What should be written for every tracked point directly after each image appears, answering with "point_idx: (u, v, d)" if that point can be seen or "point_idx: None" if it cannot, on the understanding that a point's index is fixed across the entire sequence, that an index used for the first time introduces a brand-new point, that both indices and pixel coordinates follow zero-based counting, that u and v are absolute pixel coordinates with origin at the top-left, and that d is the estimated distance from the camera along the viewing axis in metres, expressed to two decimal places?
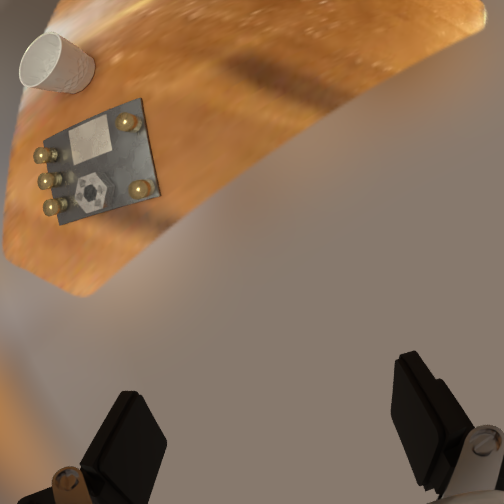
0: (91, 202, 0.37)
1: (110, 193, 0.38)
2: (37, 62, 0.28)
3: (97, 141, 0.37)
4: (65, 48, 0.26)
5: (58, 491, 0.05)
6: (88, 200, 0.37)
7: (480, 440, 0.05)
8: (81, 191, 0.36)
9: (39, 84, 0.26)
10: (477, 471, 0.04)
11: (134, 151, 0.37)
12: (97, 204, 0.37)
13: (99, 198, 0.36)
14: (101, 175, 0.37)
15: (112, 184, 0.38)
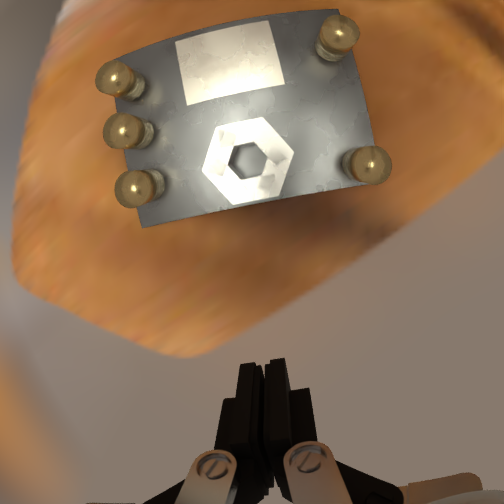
0: (249, 181, 0.18)
1: None
2: None
3: (248, 63, 0.18)
4: None
5: (208, 481, 0.06)
6: (238, 176, 0.19)
7: (301, 459, 0.06)
8: (223, 155, 0.18)
9: None
10: (316, 486, 0.05)
11: (335, 94, 0.19)
12: (266, 186, 0.18)
13: (272, 174, 0.18)
14: None
15: None
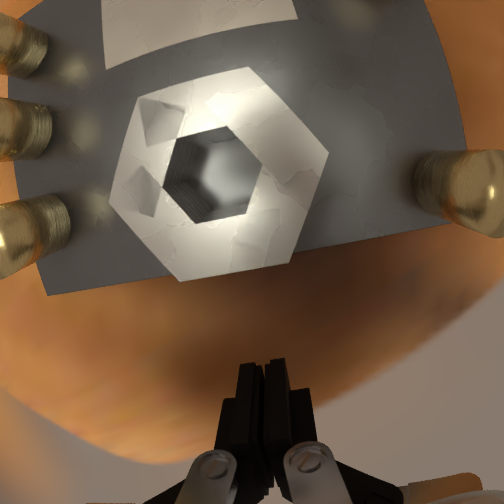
0: (217, 227, 0.08)
1: None
2: None
3: None
4: None
5: (208, 481, 0.06)
6: (191, 214, 0.08)
7: (301, 459, 0.06)
8: (152, 164, 0.07)
9: None
10: (316, 486, 0.05)
11: (396, 45, 0.08)
12: (257, 240, 0.08)
13: (273, 208, 0.07)
14: None
15: None
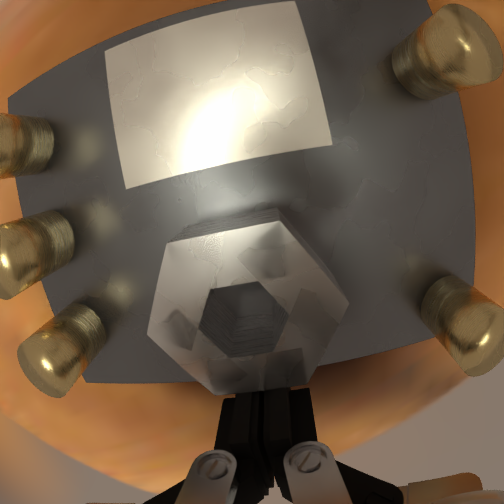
0: (248, 361, 0.08)
1: None
2: None
3: (252, 93, 0.09)
4: None
5: (208, 481, 0.06)
6: (224, 346, 0.09)
7: (301, 459, 0.06)
8: (187, 309, 0.08)
9: None
10: (316, 486, 0.05)
11: (427, 171, 0.09)
12: (282, 370, 0.08)
13: (297, 348, 0.08)
14: (295, 233, 0.08)
15: (328, 270, 0.10)
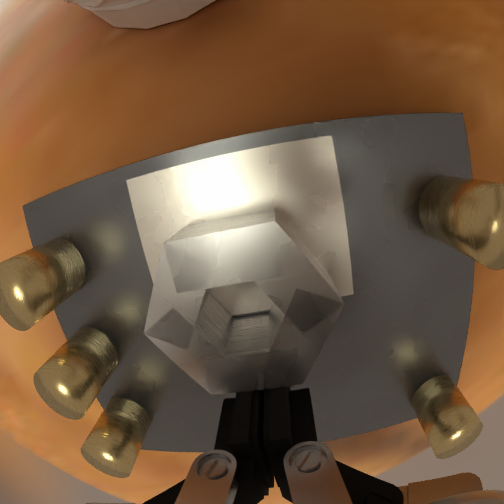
0: (244, 360, 0.08)
1: None
2: None
3: None
4: None
5: (208, 481, 0.06)
6: (220, 345, 0.09)
7: (301, 459, 0.06)
8: (183, 308, 0.08)
9: None
10: (316, 486, 0.05)
11: (432, 305, 0.10)
12: (278, 370, 0.09)
13: (293, 348, 0.08)
14: (290, 233, 0.09)
15: (324, 270, 0.10)
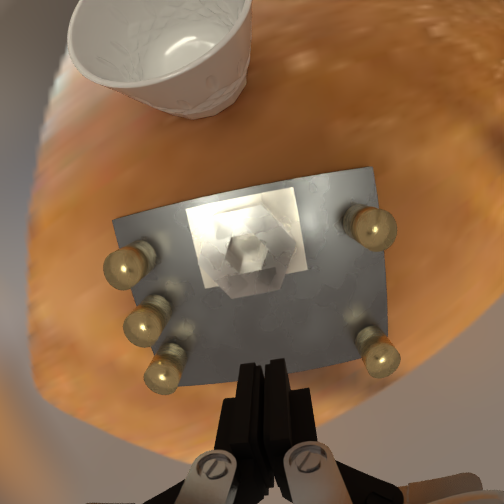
0: (249, 275, 0.18)
1: None
2: (115, 24, 0.11)
3: None
4: None
5: (208, 481, 0.06)
6: (237, 269, 0.18)
7: (301, 459, 0.06)
8: (219, 248, 0.17)
9: (159, 83, 0.09)
10: (316, 486, 0.05)
11: (357, 277, 0.20)
12: (266, 280, 0.18)
13: (273, 267, 0.18)
14: (270, 212, 0.18)
15: (289, 232, 0.19)
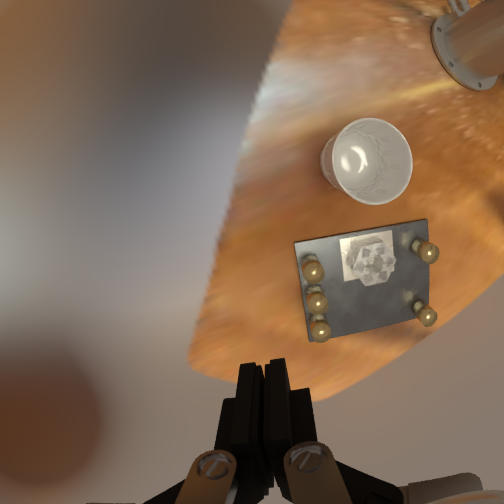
0: (374, 274, 0.34)
1: None
2: None
3: None
4: (407, 159, 0.25)
5: (208, 481, 0.06)
6: (368, 271, 0.35)
7: (301, 459, 0.06)
8: (363, 261, 0.34)
9: None
10: (317, 486, 0.05)
11: (416, 274, 0.37)
12: (381, 277, 0.34)
13: (385, 270, 0.34)
14: None
15: None
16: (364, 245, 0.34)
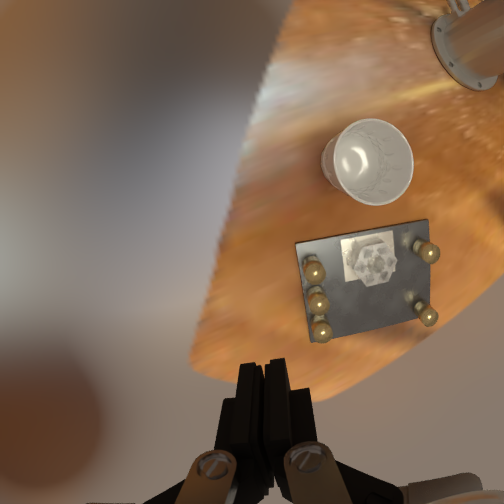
0: (375, 275, 0.34)
1: None
2: None
3: None
4: (408, 160, 0.25)
5: (208, 481, 0.06)
6: (369, 272, 0.35)
7: (301, 459, 0.06)
8: (364, 262, 0.34)
9: (379, 204, 0.26)
10: (317, 486, 0.05)
11: (417, 275, 0.37)
12: (383, 277, 0.34)
13: (386, 271, 0.34)
14: None
15: None
16: (365, 246, 0.34)
